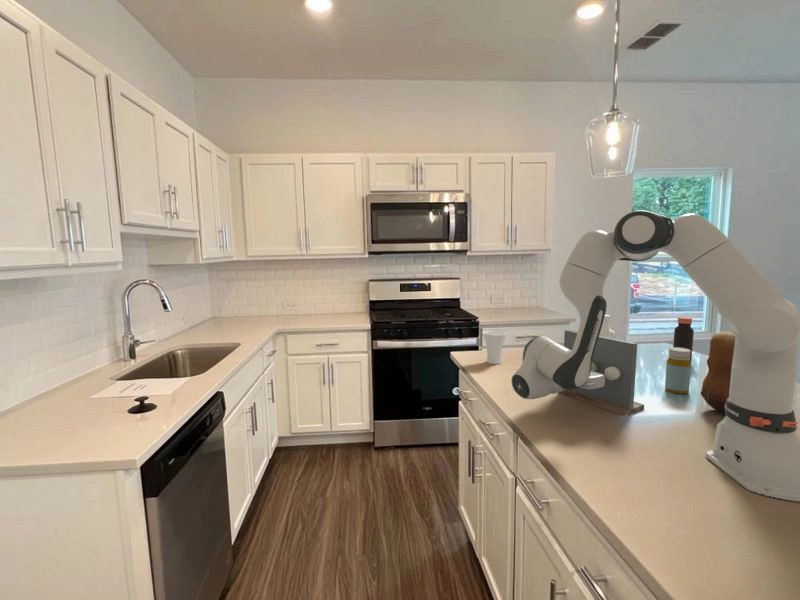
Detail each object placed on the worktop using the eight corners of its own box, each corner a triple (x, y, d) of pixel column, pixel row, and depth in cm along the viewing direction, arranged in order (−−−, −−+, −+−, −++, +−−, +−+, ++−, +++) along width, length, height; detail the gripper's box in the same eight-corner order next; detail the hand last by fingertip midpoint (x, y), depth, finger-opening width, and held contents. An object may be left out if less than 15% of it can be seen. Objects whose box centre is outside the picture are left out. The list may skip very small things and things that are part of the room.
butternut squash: (752, 410, 126) (760, 330, 123) (763, 426, 115) (772, 339, 112) (697, 401, 133) (703, 326, 130) (702, 416, 122) (709, 334, 119)
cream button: (616, 381, 124) (617, 369, 123) (604, 378, 127) (604, 365, 127) (621, 380, 125) (621, 367, 124) (608, 376, 128) (609, 364, 128)
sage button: (592, 376, 129) (593, 364, 129) (581, 373, 132) (582, 361, 132) (597, 375, 130) (598, 362, 130) (586, 371, 134) (586, 360, 133)
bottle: (692, 395, 139) (696, 352, 137) (669, 393, 141) (673, 351, 139) (683, 388, 146) (686, 347, 144) (661, 387, 147) (664, 346, 146)
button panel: (625, 416, 123) (629, 344, 120) (558, 392, 143) (560, 331, 140) (643, 409, 128) (648, 340, 125) (576, 387, 148) (579, 327, 145)
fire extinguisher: (595, 384, 151) (598, 317, 148) (594, 374, 162) (597, 312, 159) (615, 386, 148) (619, 319, 145) (613, 376, 159) (616, 313, 156)
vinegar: (668, 362, 179) (671, 317, 176) (679, 360, 181) (683, 316, 178) (683, 366, 172) (686, 319, 170) (695, 364, 174) (698, 318, 172)
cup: (481, 364, 178) (481, 334, 176) (483, 358, 188) (483, 329, 186) (505, 366, 175) (506, 335, 173) (506, 360, 185) (507, 330, 183)
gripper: (588, 375, 114) (617, 367, 121) (530, 359, 131) (559, 353, 138) (587, 397, 115) (616, 388, 121) (530, 378, 132) (558, 371, 139)
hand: (585, 369), depth 130 cm, fingers closed
